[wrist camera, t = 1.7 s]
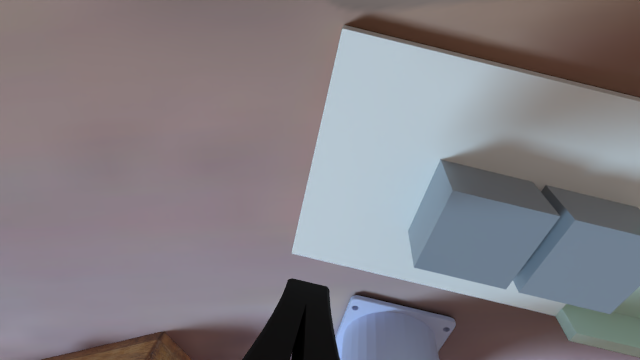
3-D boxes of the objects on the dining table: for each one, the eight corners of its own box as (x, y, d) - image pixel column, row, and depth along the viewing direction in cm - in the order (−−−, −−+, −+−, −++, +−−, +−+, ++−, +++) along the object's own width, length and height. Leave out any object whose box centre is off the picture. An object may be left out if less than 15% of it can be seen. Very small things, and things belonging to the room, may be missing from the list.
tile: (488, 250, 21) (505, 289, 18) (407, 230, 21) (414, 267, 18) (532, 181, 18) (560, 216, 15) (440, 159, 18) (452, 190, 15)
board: (547, 301, 24) (555, 316, 23) (294, 241, 24) (291, 253, 23) (708, 114, 16) (731, 124, 15) (343, 24, 16) (342, 28, 15)
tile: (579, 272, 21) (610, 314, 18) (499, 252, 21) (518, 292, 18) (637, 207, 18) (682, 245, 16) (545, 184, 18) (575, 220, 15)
